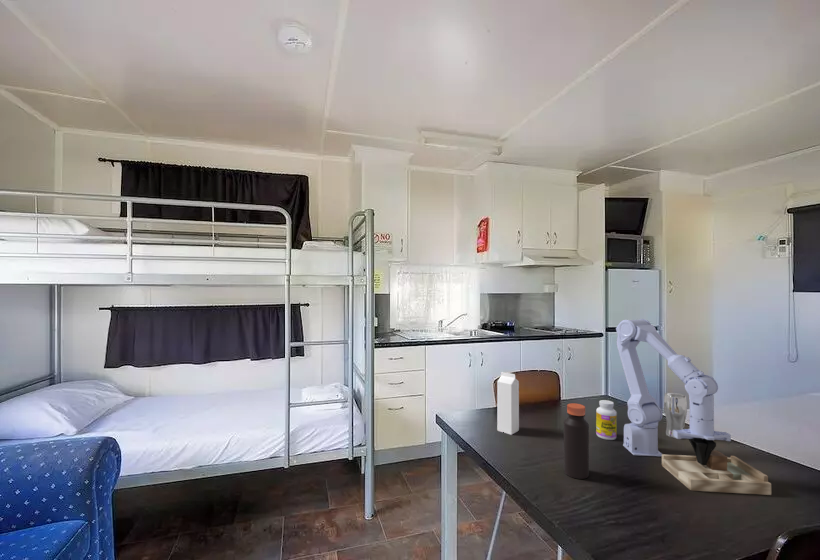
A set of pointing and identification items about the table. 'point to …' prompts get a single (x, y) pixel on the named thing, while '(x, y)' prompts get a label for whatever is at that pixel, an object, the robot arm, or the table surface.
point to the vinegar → (576, 442)
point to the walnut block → (717, 461)
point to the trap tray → (717, 475)
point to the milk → (507, 403)
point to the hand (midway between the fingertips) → (701, 463)
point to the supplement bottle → (606, 420)
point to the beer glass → (675, 412)
